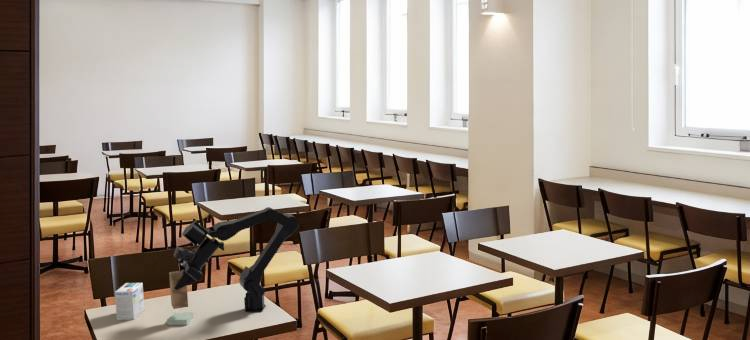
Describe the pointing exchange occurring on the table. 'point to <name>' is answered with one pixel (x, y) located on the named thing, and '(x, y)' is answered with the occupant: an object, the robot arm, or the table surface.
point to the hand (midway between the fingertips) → (174, 287)
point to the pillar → (177, 291)
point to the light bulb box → (129, 301)
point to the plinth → (180, 319)
